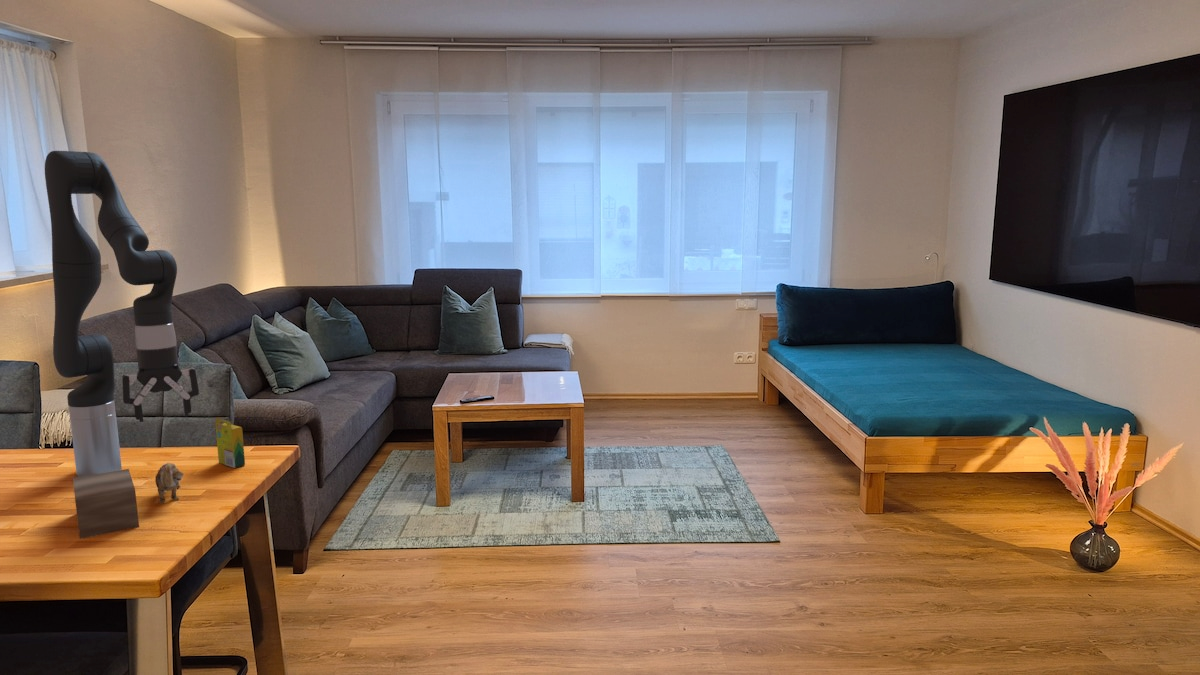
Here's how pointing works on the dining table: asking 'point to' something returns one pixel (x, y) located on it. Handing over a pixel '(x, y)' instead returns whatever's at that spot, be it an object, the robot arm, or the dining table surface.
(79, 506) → the brown wooden block
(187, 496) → the dining table surface
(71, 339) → the robot arm
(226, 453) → the crayon box
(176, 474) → the lion figurine
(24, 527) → the dining table surface
